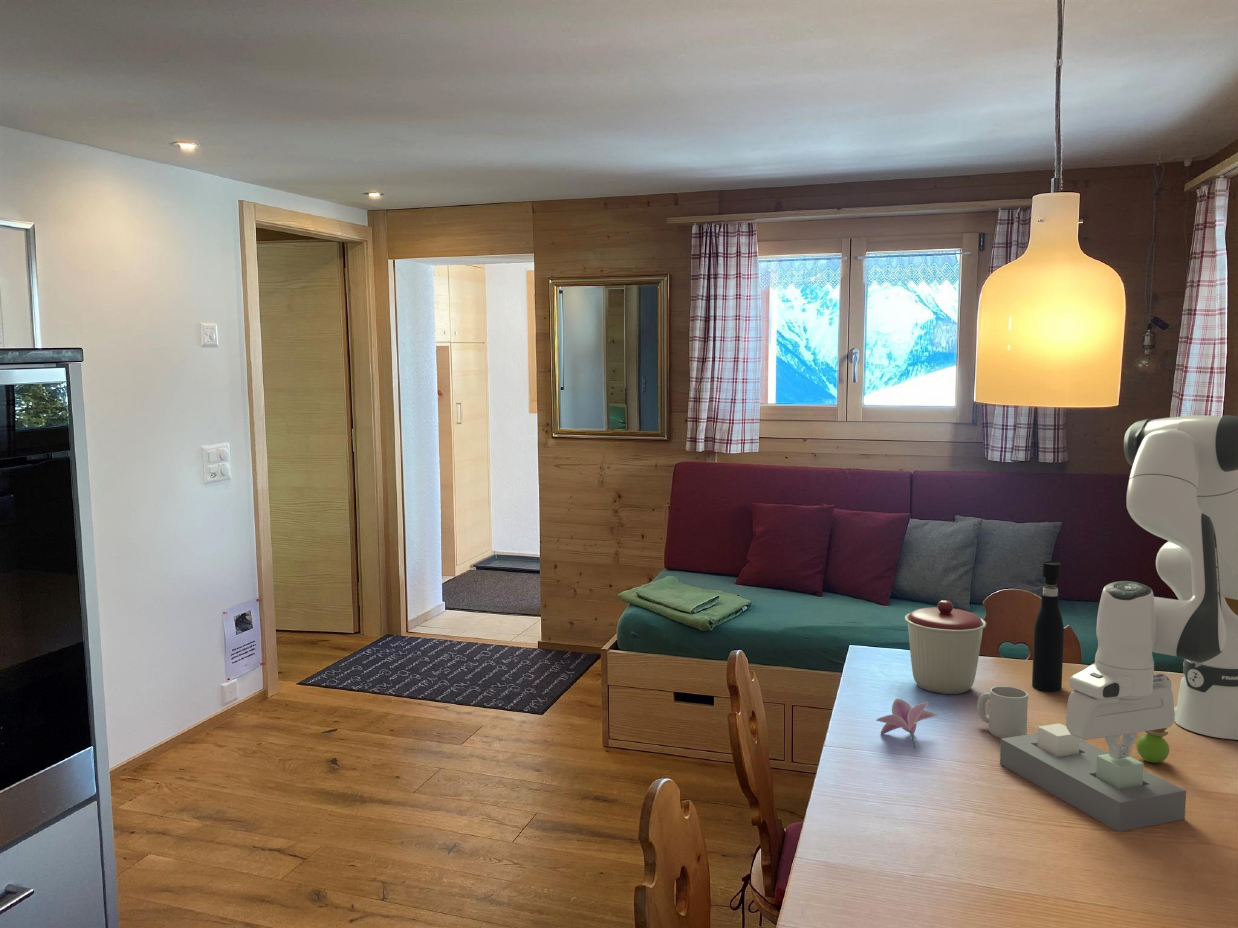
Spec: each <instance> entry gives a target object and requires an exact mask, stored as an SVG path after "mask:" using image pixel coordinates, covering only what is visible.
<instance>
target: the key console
mask: <svg viewBox="0 0 1238 928" xmlns="http://www.w3.org/2000/svg"><path fill="white" fill-rule="evenodd" d="M1037 737H1038V732H1036V733H1030V734H1029V733H1028V734H1026V735H1021V736H1015V737H1008V738H1000V749H999V750H1000V754H999V765H1001V766H1003V767H1004V768H1006V769H1008V770H1009V771H1011V772H1014V773H1015V774H1017V775H1019V776H1021V777H1022V778H1024V779H1025V780H1027V781H1029V782H1031V783H1033V784H1034V785H1036V786H1038V787H1039V788H1040V789H1043V790H1044V791H1046V792H1048V793H1050V794H1051V795H1053V796H1054V797H1057V798H1059V800H1061V801H1063V802H1066V803H1067V804H1069V805H1071V806H1072V807H1073V808H1076V809H1078V810H1079V811H1081V812H1082V813H1085V814H1086V815H1088V816H1089V817H1092V818H1094V819H1095V820H1096V821H1099V822H1100V823H1101V824H1104V825H1105V826H1107V827H1109V828H1111V829H1112V830H1114V831H1116V832H1118V833H1121V832H1126V831H1131V830H1137V829H1140V828H1146V827H1152V826H1157V825H1163V824H1167V823H1171V822H1178V821H1182V820H1185V819H1186V802H1187V790H1186V789H1184V788H1183V787H1180V786H1178V785H1176V784H1174V783H1173V782H1169V781H1168V780H1166V779H1163V778H1161V777H1159V776H1157V775H1155V774H1153V773H1151V772H1148V771H1147V770H1145V769H1143V786H1138V787H1133V788H1127V789H1122V790H1119V789H1117V788H1115V787H1113V786H1111V785H1109V784H1107V783H1105V782H1103V781H1102V780H1100V779H1098V778H1096V764H1097V756H1098V755H1104V754H1109V751H1105V750H1104V749H1101V748H1099V747H1098V746H1095V745H1093V744H1091V743H1089V742H1086V740H1082V739H1080V743H1079V754H1073V755H1067V756H1061V757H1056V756H1054V755H1052V754H1050V753H1048V752H1046V751H1044V750H1042V749H1040V748H1038V747H1037Z"/></svg>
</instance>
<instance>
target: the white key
mask: <svg viewBox="0 0 1238 928" xmlns="http://www.w3.org/2000/svg"><path fill="white" fill-rule="evenodd" d="M1037 733H1038V737H1037V747H1038V748H1040V749H1042V750H1044V751H1046V752H1048V753H1050V754H1052V755H1054V756H1056V757H1061V756H1067V755H1073V754H1079V743H1080V738H1077V737H1075V736H1073V735H1072V734H1070V732H1069V731H1068V729H1067V726H1066V725H1064V724H1061V723H1060V722H1059V723H1052V724H1045V725H1040V726H1037Z"/></svg>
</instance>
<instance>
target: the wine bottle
mask: <svg viewBox="0 0 1238 928" xmlns="http://www.w3.org/2000/svg"><path fill="white" fill-rule="evenodd" d="M1061 565H1062V564H1061V563H1060V562H1058V561H1051V560H1050V561H1043V562H1042V566H1041V567H1042V568H1041V577H1042V578H1044V586H1043V587H1042V594H1041V599H1040V600H1041V602H1040V603H1041V604H1040V607H1039V611H1038V613H1037V615H1036V618H1035V621H1034V626H1033V648H1032V649H1033V650H1032V674H1031V675H1032V677H1031V679H1032V680H1031V686H1032V688H1034V689H1035V690H1038V691H1040V692H1041V691H1042V692H1047V693H1055V692H1057V693H1058V692H1061V691H1062V689H1063V688H1062V686H1063V663H1064V639H1065V637H1064V635H1065V633H1064V632H1065V628H1064V627H1065V626H1064V622H1063V615H1062V614H1061V610H1060V607H1059V606H1060V605H1059V604H1060V596H1059V589H1058V587H1057V586H1058V584H1057V582H1058V581H1057V580H1058V579H1060V578H1061Z"/></svg>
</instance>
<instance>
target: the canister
mask: <svg viewBox="0 0 1238 928" xmlns="http://www.w3.org/2000/svg"><path fill="white" fill-rule="evenodd" d="M904 621H905V622H906V623H907V629H908V642H909V652H910V661H911V671H912V676H913V680H914V681H915V684H916V685H918V686H919V687H920V688H921V689H923V690H926V691H928V692H932V693H937V694H942V695H943V694H945V695H959V694H963V693H967V692H968V691H970V690H971V689H972V687H973V686H974V683H975V680H976V675H977V674H976V673H977V668H978V663H979V659H980V658H979V656H980V652H981V651H980V650H981V643H982V636H983V630H984V628H986V627H987V622H986V620H984V619H983V618H981V617H979V615H977V614H975V613H974V612H970V611H967V610H963V609H959V608H954V604H953V602H951V601H950V600H946V599H945V600H944V599H943V600H939V602H937V606H936V607H935V606H934V607H932V606H931V607H923V608H918V609H914V610H913V611H911V612H909V613H907V614H906V615H905V616H904Z"/></svg>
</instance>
